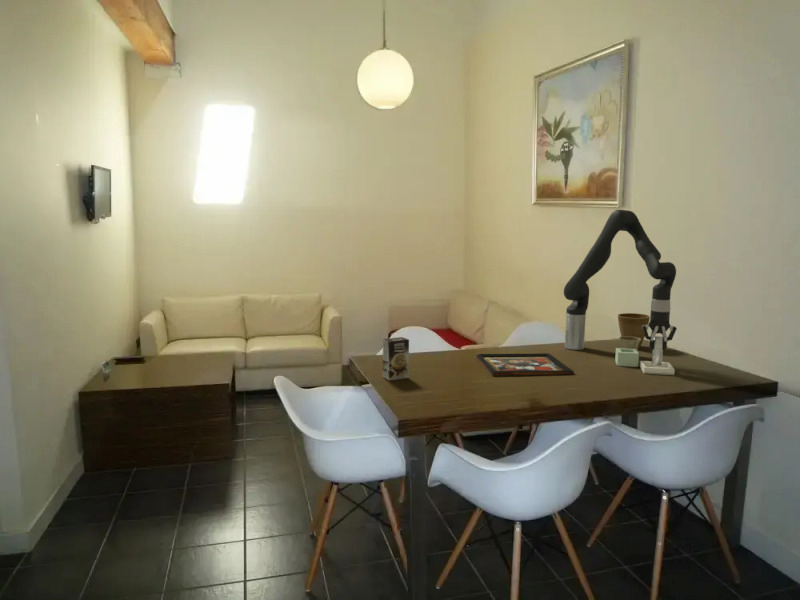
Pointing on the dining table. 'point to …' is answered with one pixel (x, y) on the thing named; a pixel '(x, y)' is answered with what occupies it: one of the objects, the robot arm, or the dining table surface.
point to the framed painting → (523, 364)
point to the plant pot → (633, 325)
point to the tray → (656, 368)
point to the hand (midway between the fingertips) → (657, 349)
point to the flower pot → (629, 342)
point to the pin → (657, 351)
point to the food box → (395, 358)
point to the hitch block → (626, 357)
